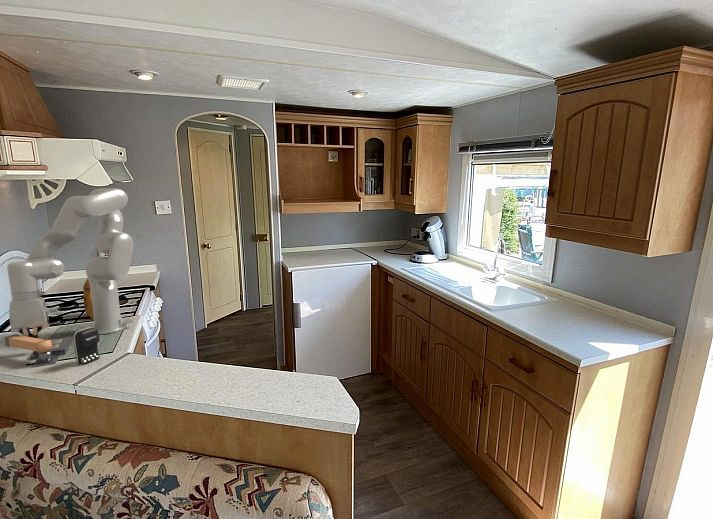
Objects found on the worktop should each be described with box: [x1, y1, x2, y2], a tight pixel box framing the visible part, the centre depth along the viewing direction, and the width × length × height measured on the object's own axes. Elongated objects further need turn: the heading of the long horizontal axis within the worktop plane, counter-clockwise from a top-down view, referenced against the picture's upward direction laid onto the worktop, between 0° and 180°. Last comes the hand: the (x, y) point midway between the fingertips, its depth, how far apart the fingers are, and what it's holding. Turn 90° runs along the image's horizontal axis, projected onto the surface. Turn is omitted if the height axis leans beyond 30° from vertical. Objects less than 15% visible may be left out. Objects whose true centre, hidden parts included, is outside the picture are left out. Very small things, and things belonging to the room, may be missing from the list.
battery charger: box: [72, 327, 101, 366], centre depth 129 cm, size 7×4×11 cm, turn 161°
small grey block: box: [32, 350, 60, 368], centre depth 129 cm, size 6×6×4 cm
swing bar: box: [4, 333, 52, 353], centre depth 132 cm, size 4×20×3 cm, turn 69°
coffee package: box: [82, 278, 94, 320], centre depth 183 cm, size 10×12×22 cm
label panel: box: [32, 336, 73, 361], centre depth 141 cm, size 9×15×2 cm, turn 29°
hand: (33, 345), depth 138 cm, fingers closed
